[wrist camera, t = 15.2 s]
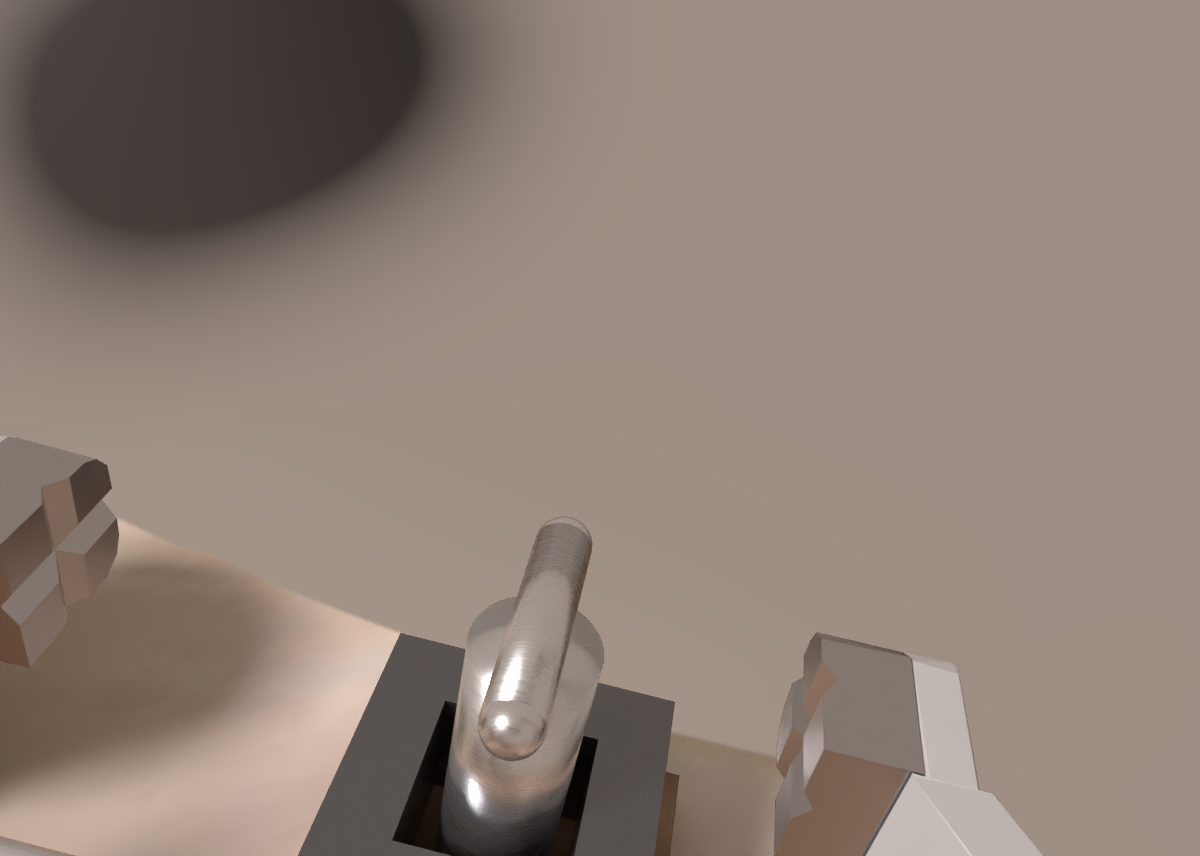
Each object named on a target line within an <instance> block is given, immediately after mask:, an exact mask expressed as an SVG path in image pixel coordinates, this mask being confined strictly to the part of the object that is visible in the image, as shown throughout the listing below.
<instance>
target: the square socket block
mask: <svg viewBox="0 0 1200 856" xmlns="http://www.w3.org/2000/svg"><path fill="white" fill-rule="evenodd" d="M465 650H466V649H462V648H458V647H454V646H450V645H446V644H442V643H438V642H434V641H430V640H426V639H422V638H418V637H414V636H410V635H406V634H402V633H400V635H399V638H398V640H397V642H396V644H395V646H394V648H393V651H392V653H391V655H390V657H389V659H388V661H387V664H386V666H385V668H384V670H383V672H382V674H381V677H380V679H379V681H378V683H377V685H376V687H375V690H374V692H373V694H372V696H371V698H370V700H369V703H368V705H367V707H366V709H365V711H364V713H363V716H362V718H361V720H360V722H359V724H358V726H357V729H356V731H355V733H354V735H353V737H352V740H351V742H350V744H349V746H348V748H347V750H346V753H345V755H344V757H343V759H342V761H341V763H340V766H339V768H338V770H337V772H336V774H335V776H334V779H333V781H332V783H331V785H330V787H329V789H328V792H327V794H326V796H325V798H324V800H323V802H322V805H321V807H320V809H319V811H318V813H317V815H316V818H315V820H314V822H313V824H312V826H311V828H310V831H309V833H308V835H307V837H306V839H305V842H304V844H303V846H302V848H301V850H300V852H299V855H298V856H450V855H446V854H443V853H439V852H435V851H431V850H427V849H423V848H420V847H416V846H413V844H414V841H415V838H416V835H417V833H418V830H419V827H420V824H421V821H422V819H423V816H424V813H425V810H426V807H427V805H428V802H429V799H430V796H431V794H432V791H433V788H434V785H437V786H441V787H444V785H445V779H446V772H447V766H448V760H449V753H450V747H451V740H452V734H453V728H454V721H455V715H456V708H457V702H458V695H459V689H460V683H461V676H462V670H463V663H464V657H465ZM674 704H675V702H673V701H669V700H664V699H661V698H657V697H653V696H649V695H645V694H640V693H637V692H633V691H629V690H625V689H621V688H617V687H613V686H609V685H605V684H601V683H598V685H597V688H596V692H595V695H594V699H593V703H592V706H591V710H590V713H589V717H588V721H587V724H586V728H585V731H584V735H583V738H582V742H581V746H580V749H579V753H578V756H577V760H576V764H575V767H574V771H573V774H572V778H571V781H570V785H569V789H568V792H567V796H566V799H565V803H564V807H563V810H562V814H561V818H565V819H569V820H573V821H576V825H575V830H574V834H573V839H572V844H571V848H570V853H569V856H654V853H655V845H656V838H657V831H658V823H659V816H660V808H661V801H662V794H663V786H664V779H665V771H666V764H667V756H668V749H669V742H670V734H671V727H672V719H673V712H674Z"/></svg>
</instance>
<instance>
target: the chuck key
mask: <svg viewBox="0 0 1200 856" xmlns="http://www.w3.org/2000/svg"><path fill="white" fill-rule="evenodd" d="M591 552H592V538H591V535H590V533H589V531H588V529H587V528H586V526H585V525H584V524H583V523H581V522H580V521H578V520H577V519H574V518H571V517H566V516H565V517H563V516H562V517H556V518H553V519H551V520H549V521H547V522H546V523H545V524H544V525H543V526H542V527H541V528H540V530H539V531H538V534H537V536H536V539H535V542H534V545H533V548H532V551H531V555H530V558H529V561H528V564H527V567H526V570H525V573H524V577H523V580H522V583H521V586H520V589H519V592H518V595H517V597H513V598H508V599H505V600H502V601H499V602H497V603H495V604H493V605H491V606H489V607H488V608H486V609H485V610H484V611H483V612H482V613H480V614H479V615H478V617H477V618H476V619H475V621H474V622H473V623H472V626H471V628H470V630H469V634H468V638H467V644H466V650H465V657H464V663H463V670H462V676H461V683H460V689H459V695H458V702H457V708H456V715H455V721H454V728H453V734H452V740H451V747H450V753H449V760H448V766H447V772H446V779H445V785H444V792H443V798H442V805H441V811H440V817H439V824H438V830H437V837H436V843H435V850H434V851H435V852H439V853H443V854H446V855H450V856H550V853H551V850H552V846H553V842H554V839H555V835H556V832H557V828H558V824H559V821H560V817H561V814H562V810H563V807H564V803H565V799H566V796H567V792H568V789H569V785H570V781H571V778H572V774H573V771H574V767H575V764H576V760H577V756H578V753H579V749H580V746H581V742H582V738H583V735H584V731H585V728H586V724H587V721H588V717H589V713H590V710H591V706H592V703H593V699H594V695H595V692H596V688H597V685H598V681H599V678H600V674H601V670H602V667H603V663H604V648H603V644H602V641H601V638H600V636H599V634H598V632H597V631H596V629H595V628H594V626H593V625H592V623H591V622H590V621H589V620H588V619H587V618H586V617H585V616H583V615H582V614H581V613H580V612H578V611H577V609H578V605H579V601H580V597H581V593H582V589H583V585H584V581H585V577H586V573H587V569H588V565H589V560H590V556H591Z"/></svg>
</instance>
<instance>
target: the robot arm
mask: <svg viewBox="0 0 1200 856" xmlns="http://www.w3.org/2000/svg"><path fill="white" fill-rule="evenodd" d="M111 489H112V486H111V481H110V476H109V472H108V467H107V465H106V464H104V463H102V462H100V461H99V460H97V459H94V458H90V457H87V456H83V455H79V454H75V453H72V452H68V451H64V450H61V449H56V448H53V447H49V446H45V445H42V444H38V443H34V442H31V441H26V440H23V439H19V438H11V437H8V436H4V435H1V434H0V661H2V662H6V663H11V664H15V665H20V666H24V667H29V668H31V666H32V665H33V664H34V663H35V662H36V661H37V659H38V658H39V657H40V656H41V655H42V654H43V652H44V651H45V650H46V649H47V648H48V646H49V645H50V644H51V643H52V642H53V641H54V639H55V638H56V637H57V636H58V635H59V634H60V632H61V631H62V630H63V629H64V628H65V627H66V625H67V609H66V607H67V606H70V605H72V604H74V603H76V602H79V601H81V600H83V599H86V598H88V597H90V596H92V595H93V594H94V592H95V591H96V590H97V589H98V587H99V586H100V585H101V584H102V582H103V581H104V580H105V579H106V577H107V575H108V573H109V570H110V568H111V566H112V564H113V561H114V559H115V557H116V554H117V548H118V539H119V531H118V524H117V518H116V517H115V515H114V514H113V513H112V512H111V511H110V509H109V508H108V507H107V506H106V505H105V503H104V502H103V501H102V499H103V498H104V496H105V495H106V494H107V493H108V492H109V491H110V490H111ZM776 766H777V768H778V769H779V771H780V772H781V774H782V775H783V777H784V782H783V784H782V786H781V789H780V791H779V793H778V796H777V798H776V800H775V838H774V856H1043V855H1042V853H1041V852H1040V851H1039V849H1038V848H1037V847H1036V846H1035V845H1034V843H1033V842H1032V841H1031V840H1030V838H1029V837H1028V836H1027V835H1026V833H1025V832H1024V831H1023V830H1022V828H1021V827H1020V826H1019V825H1018V823H1017V822H1016V821H1015V820H1014V819H1013V817H1012V816H1011V815H1010V814H1009V812H1008V811H1007V810H1006V809H1005V808H1004V806H1003V805H1002V804H1001V802H1000V801H999V800H998V799H997V797H996V796H995V795H994V794H991V793H988V792H985V791H981V790H980V789H979V783H978V778H977V772H976V766H975V761H974V755H973V749H972V744H971V738H970V732H969V726H968V721H967V715H966V710H965V704H964V698H963V692H962V687H961V681H960V675H959V671H958V670H957V668H956V667H955V665H954V664H953V663H949V662H944V661H940V660H936V659H931V658H927V657H923V656H918V655H914V654H909V653H907V654H905V653H903V652H899V651H895V650H891V649H886V648H882V647H878V646H873V645H869V644H864V643H860V642H856V641H852V640H847V639H843V638H839V637H834V636H830V635H826V634H822V633H816V634H815V635H814V636H813V638H812V639H811V640H810V643H809V645H808V648H807V650H806V652H805V654H804V677H803V678H801V679H799V680H797V681H796V682H794V683H792V686H791V689H790V692H789V694H788V697H787V700H786V702H785V705H784V710H783V714H782V718H781V722H780V726H779V734H778V743H777V759H776ZM0 856H74V855H70V854H66V853H62V852H59V851H55V850H51V849H47V848H43V847H39V846H36V845H32V844H28V843H24V842H20V841H16V840H13V839H9V838H5V837H1V836H0Z"/></svg>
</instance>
